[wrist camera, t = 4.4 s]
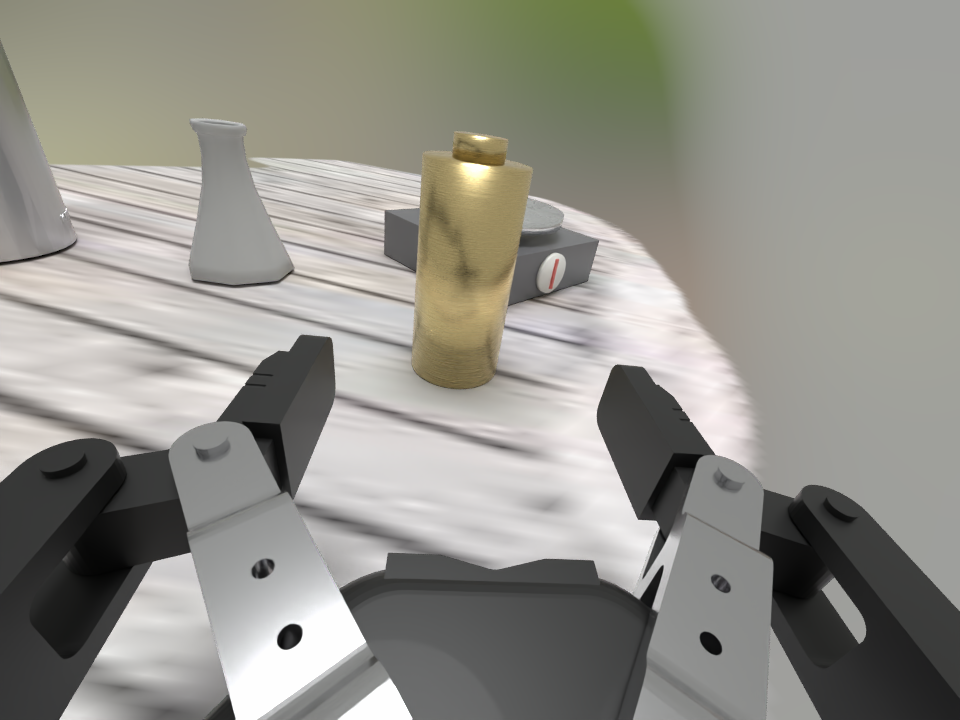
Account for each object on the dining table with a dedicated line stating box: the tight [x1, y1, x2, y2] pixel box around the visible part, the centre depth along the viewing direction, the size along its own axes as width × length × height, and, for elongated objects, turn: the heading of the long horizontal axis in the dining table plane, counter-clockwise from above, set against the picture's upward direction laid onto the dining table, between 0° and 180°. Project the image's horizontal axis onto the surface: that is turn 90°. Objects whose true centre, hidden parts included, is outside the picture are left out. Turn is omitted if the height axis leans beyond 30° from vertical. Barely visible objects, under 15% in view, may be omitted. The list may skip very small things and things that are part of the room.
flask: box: [189, 118, 294, 285], centre depth 29 cm, size 7×7×10 cm
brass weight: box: [412, 131, 533, 389], centre depth 21 cm, size 5×5×12 cm
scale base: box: [384, 208, 599, 305], centre depth 38 cm, size 14×15×4 cm
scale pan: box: [521, 198, 564, 235], centre depth 37 cm, size 12×12×1 cm
